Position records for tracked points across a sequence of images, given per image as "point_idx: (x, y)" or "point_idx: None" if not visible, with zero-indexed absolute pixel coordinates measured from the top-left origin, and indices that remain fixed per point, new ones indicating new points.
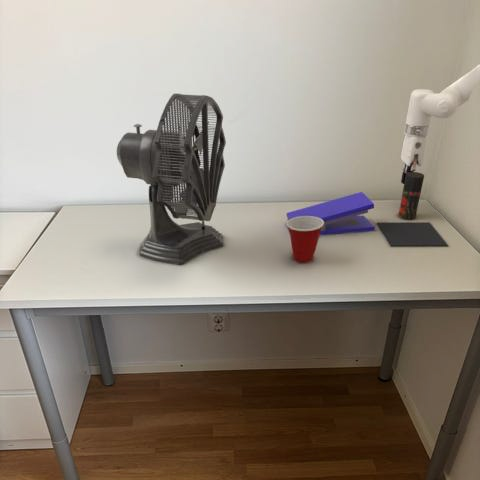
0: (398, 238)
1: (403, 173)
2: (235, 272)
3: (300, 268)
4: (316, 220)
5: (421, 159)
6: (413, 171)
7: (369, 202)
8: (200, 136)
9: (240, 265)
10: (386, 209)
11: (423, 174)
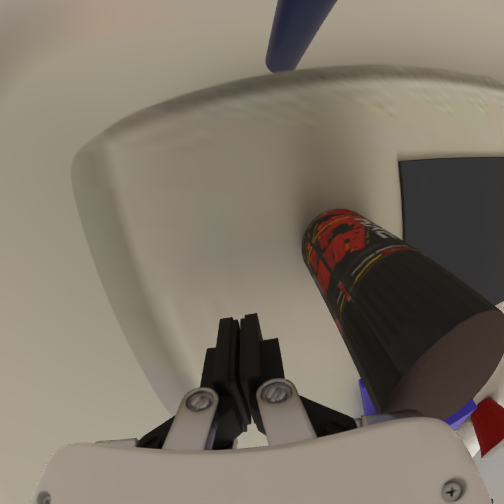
0: (487, 285)
1: (249, 419)
2: (473, 437)
3: (495, 399)
4: (500, 440)
5: (481, 490)
6: (299, 396)
7: (463, 417)
8: None
9: (464, 442)
10: (265, 320)
11: (468, 318)
